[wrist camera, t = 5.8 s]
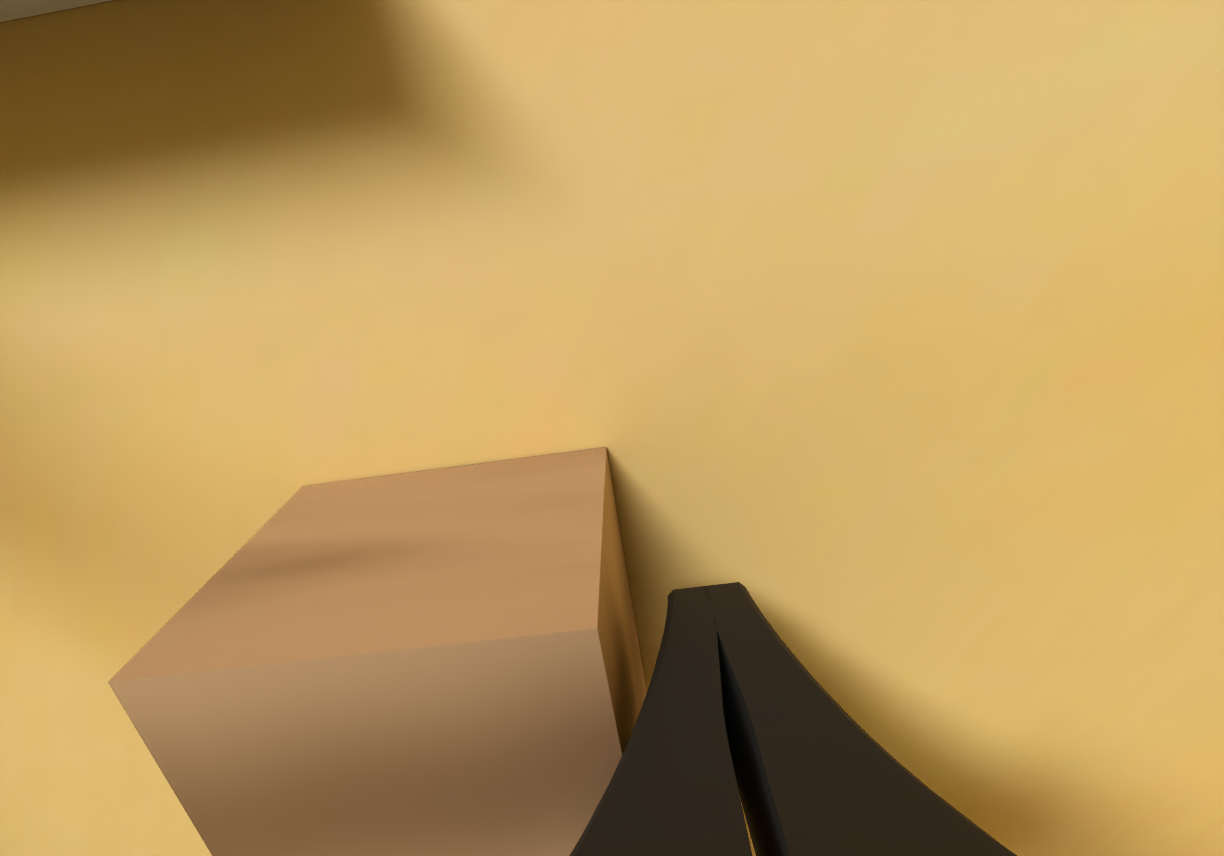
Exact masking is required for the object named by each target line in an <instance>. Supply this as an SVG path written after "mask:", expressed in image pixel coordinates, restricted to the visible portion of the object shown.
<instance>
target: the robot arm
mask: <svg viewBox="0 0 1224 856" xmlns="http://www.w3.org/2000/svg"><path fill="white" fill-rule="evenodd" d="M739 794H740V796H739ZM740 798H741V801H740ZM741 802H742V805H741ZM742 806H743V809H744V813H745V817H746V820H747V824H748V828H749V831H750V835H751V839H752V842H753V846H754V850H755V853H756V856H1017V855H1015V854H1014V853H1013V852H1011V851H1010V850H1008V849H1007V848H1005V847H1004V846H1003V845H1001V844H1000V843H999V842H997V841H996V840H995V839H994V838H992V837H991V836H990V835H988V834H987V833H986V832H984V831H983V830H982V829H981V828H979V827H978V826H977V825H975V824H974V823H973V822H972V821H970V820H969V819H968V818H966V817H965V816H964V815H963V814H961V813H960V812H959V811H957V810H956V809H955V808H953V807H952V806H951V805H950V804H948V803H947V802H946V801H944V800H943V799H942V798H941V797H939V796H938V795H937V794H935V793H934V792H933V791H932V790H930V789H929V788H928V787H927V786H926V785H924V784H923V783H922V782H921V781H920V780H919V779H917V778H916V777H915V776H914V775H913V774H912V773H910V772H909V771H908V770H907V769H906V768H905V767H903V766H902V765H901V764H900V763H899V762H898V761H897V760H895V759H894V758H893V757H892V756H891V755H890V754H889V753H888V752H887V751H886V750H884V749H883V748H882V747H881V746H880V745H879V744H878V743H877V742H876V741H875V740H874V739H872V738H871V737H870V736H869V735H868V734H867V733H866V732H865V731H864V730H863V729H862V728H861V727H860V726H859V725H858V724H857V723H856V722H855V721H854V720H853V719H852V718H851V717H850V716H849V715H848V714H847V713H846V712H845V711H844V710H843V709H842V708H841V707H840V706H839V705H838V704H837V703H836V702H835V701H834V700H833V699H832V697H831V696H830V695H829V694H828V693H827V692H826V691H825V690H824V689H823V688H822V687H821V686H820V685H819V683H818V682H817V681H816V680H815V679H814V678H813V677H812V676H811V675H810V673H809V672H808V671H807V670H806V669H805V667H804V666H803V665H802V664H801V663H800V661H799V660H798V659H797V658H796V657H795V656H794V654H793V653H792V652H791V651H790V650H789V648H788V647H787V646H786V645H785V643H784V642H783V641H782V640H781V638H780V637H779V636H778V635H777V633H776V632H775V631H774V629H773V628H772V626H771V625H770V624H769V622H768V621H767V620H766V618H765V617H764V616H763V614H762V613H761V611H760V610H759V608H758V607H757V605H756V604H755V602H754V601H753V599H752V597H751V596H750V594H749V592H748V591H747V589H746V587H745V586H743V585H742V584H741V583H739V582H737V583H728V584H719V585H711V586H702V587H693V588H685V589H676V590H673V591H672V592H671V593H670V594H669V595H668V608H667V617H666V623H665V629H664V634H663V638H662V643H661V647H660V651H659V654H658V658H657V661H656V665H655V668H654V672H653V675H652V679H651V682H650V685H649V688H648V691H647V694H646V697H645V699H644V702H643V705H642V708H641V710H640V713H639V716H638V719H637V721H636V724H635V727H634V729H633V732H632V734H631V736H630V739H629V741H628V744H627V746H626V748H625V751H624V753H623V755H622V757H621V759H620V762H619V764H618V766H617V768H616V770H615V772H614V774H613V777H612V779H611V781H610V783H609V785H608V787H607V789H606V791H605V793H604V794H603V796H602V798H601V800H600V802H599V804H598V806H597V808H596V810H595V812H594V813H593V815H592V817H591V819H590V821H589V823H588V825H587V826H586V828H585V830H584V832H583V834H582V835H581V837H580V839H579V841H578V842H577V844H576V846H575V847H574V849H573V851H572V852H571V854H570V855H569V856H752V851H751V847H750V843H749V838H748V833H747V829H746V824H745V819H744V815H743V810H742Z"/></svg>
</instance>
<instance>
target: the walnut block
mask: <svg viewBox="0 0 1224 856" xmlns="http://www.w3.org/2000/svg"><path fill="white" fill-rule="evenodd" d="M108 683H109V685H110V686H111V688H112V690H113V691H114V693H115V695H116V696H117V698H118V700H119V701H120V703H121V705H122V706H123V708H124V710H125V711H126V713H127V715H128V716H129V718H130V720H131V721H132V723H133V725H134V726H135V728H136V730H137V731H138V733H139V735H140V736H141V738H142V739H143V741H144V743H145V744H146V746H147V748H148V749H149V751H150V753H151V754H152V756H153V758H154V759H155V761H156V763H157V764H158V766H159V768H160V769H161V771H162V773H163V774H164V776H165V778H166V779H167V781H168V783H169V784H170V786H171V788H172V789H173V791H174V793H175V794H176V796H177V798H178V799H179V801H180V803H181V804H182V806H183V808H184V809H185V811H186V813H187V814H188V816H189V818H190V819H191V821H192V823H193V824H194V826H195V828H196V829H197V831H198V833H199V834H200V836H201V838H202V839H203V841H204V843H205V844H206V846H207V848H208V849H209V851H210V853H211V854H212V856H569V855H570V854H571V852H572V851H573V849H574V847H575V846H576V844H577V842H578V841H579V839H580V837H581V835H582V834H583V832H584V830H585V828H586V826H587V825H588V823H589V821H590V819H591V817H592V815H593V813H594V812H595V810H596V808H597V806H598V804H599V802H600V800H601V798H602V796H603V794H604V793H605V791H606V789H607V787H608V785H609V783H610V781H611V779H612V777H613V774H614V772H615V770H616V768H617V766H618V764H619V762H620V759H621V757H622V755H623V753H624V751H625V748H626V746H627V744H628V741H629V739H630V736H631V734H632V732H633V729H634V727H635V724H636V721H637V719H638V716H639V713H640V710H641V708H642V705H643V702H644V699H645V697H646V683H645V677H644V671H643V665H642V659H641V653H640V647H639V641H638V635H637V629H636V623H635V617H634V611H633V605H632V599H631V593H630V587H629V581H628V575H627V569H626V563H625V557H624V551H623V545H622V539H621V533H620V527H619V521H618V515H617V509H616V503H615V497H614V491H613V485H612V479H611V473H610V467H609V461H608V455H607V449H606V447H603V448H595V449H588V450H580V451H572V452H564V453H557V454H549V455H541V456H534V457H526V458H518V459H510V460H503V461H495V462H487V463H479V464H472V465H464V466H456V467H449V468H441V469H433V470H425V471H418V472H410V473H402V474H395V475H387V476H379V477H371V478H364V479H356V480H348V481H341V482H333V483H325V484H317V485H310V486H302V487H301V488H300V489H299V490H298V491H297V492H296V493H295V494H294V496H293V497H292V498H291V499H290V500H289V501H288V502H287V503H286V504H285V505H284V506H283V507H282V508H281V509H280V510H279V511H278V512H277V513H276V514H275V515H274V516H273V517H272V518H271V519H270V520H269V521H268V522H267V523H266V524H265V525H264V526H263V527H262V528H261V529H260V530H259V531H258V532H257V533H256V534H255V535H254V536H253V537H252V538H251V539H250V540H249V541H248V542H247V543H246V544H245V545H244V546H243V547H242V548H241V549H240V550H239V551H238V552H237V553H236V554H235V555H234V556H233V557H232V558H231V559H230V560H229V561H228V562H227V563H226V564H225V565H224V566H223V567H222V568H221V569H220V570H219V571H218V572H217V573H216V574H215V575H214V576H213V577H212V578H211V579H210V580H209V581H208V582H207V583H206V584H205V585H204V586H203V587H202V588H201V589H200V590H199V591H198V592H197V593H196V594H195V595H194V596H193V597H192V598H191V599H190V600H189V601H188V602H187V603H186V604H185V605H184V606H183V607H182V608H181V609H180V610H179V611H178V612H177V613H176V614H175V615H174V616H173V617H172V618H171V619H170V620H169V621H168V622H167V623H166V624H165V625H164V626H163V627H162V628H161V629H160V630H159V631H158V632H157V633H156V634H155V635H154V636H153V637H152V638H151V639H150V640H149V641H148V642H147V643H146V644H145V645H144V646H143V647H142V648H141V649H140V650H139V651H138V652H137V653H136V654H135V655H134V656H133V657H132V658H131V659H130V660H129V661H128V662H127V663H126V664H125V665H124V666H123V667H122V668H121V669H120V670H119V671H118V672H117V673H116V674H115V675H114V676H113V677H112V678H111V679H110V680H109V681H108Z"/></svg>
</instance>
